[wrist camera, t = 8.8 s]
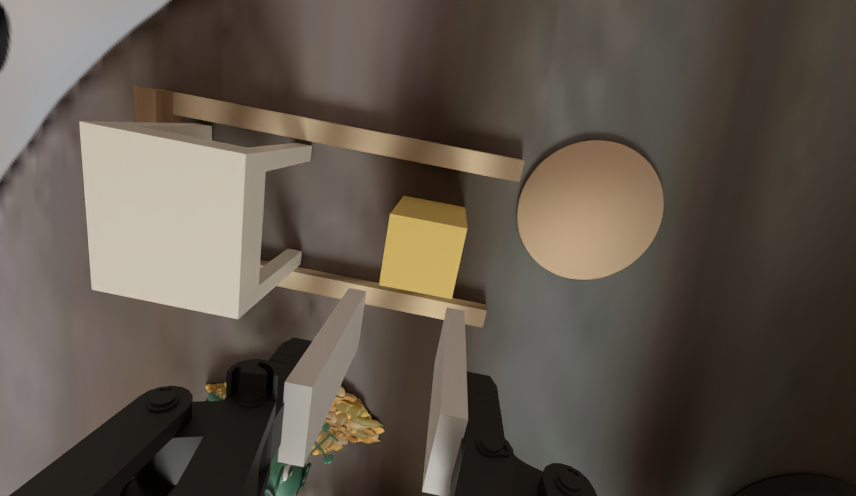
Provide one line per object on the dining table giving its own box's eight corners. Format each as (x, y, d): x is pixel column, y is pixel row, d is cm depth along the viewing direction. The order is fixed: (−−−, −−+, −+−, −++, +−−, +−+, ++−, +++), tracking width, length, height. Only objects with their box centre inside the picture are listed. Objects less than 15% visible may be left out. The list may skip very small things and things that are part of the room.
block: (465, 207, 32) (467, 228, 25) (452, 264, 34) (451, 299, 27) (404, 195, 32) (390, 213, 25) (394, 253, 34) (378, 285, 27)
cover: (311, 145, 31) (245, 154, 21) (300, 264, 34) (238, 319, 24) (197, 123, 31) (79, 121, 22) (195, 243, 34) (91, 289, 24)
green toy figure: (222, 323, 37) (106, 450, 23) (402, 383, 40) (398, 529, 26) (197, 403, 40) (80, 561, 26) (368, 454, 42) (347, 621, 28)
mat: (683, 155, 30) (685, 155, 29) (633, 289, 33) (635, 291, 33) (537, 127, 30) (538, 127, 29) (502, 263, 33) (503, 265, 33)
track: (522, 159, 31) (529, 162, 28) (481, 320, 35) (484, 338, 32) (163, 89, 31) (133, 85, 28) (165, 257, 35) (139, 269, 32)
